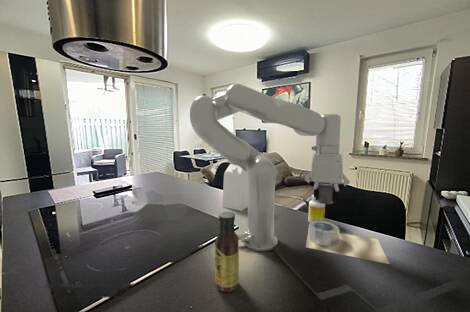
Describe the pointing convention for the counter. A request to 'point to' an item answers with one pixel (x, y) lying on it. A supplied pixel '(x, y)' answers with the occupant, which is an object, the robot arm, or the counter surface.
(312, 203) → the supplement bottle
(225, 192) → the milk
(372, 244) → the birch board
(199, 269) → the counter surface
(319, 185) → the grey rounded canister
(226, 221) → the sauce bottle
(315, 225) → the lens barrel
